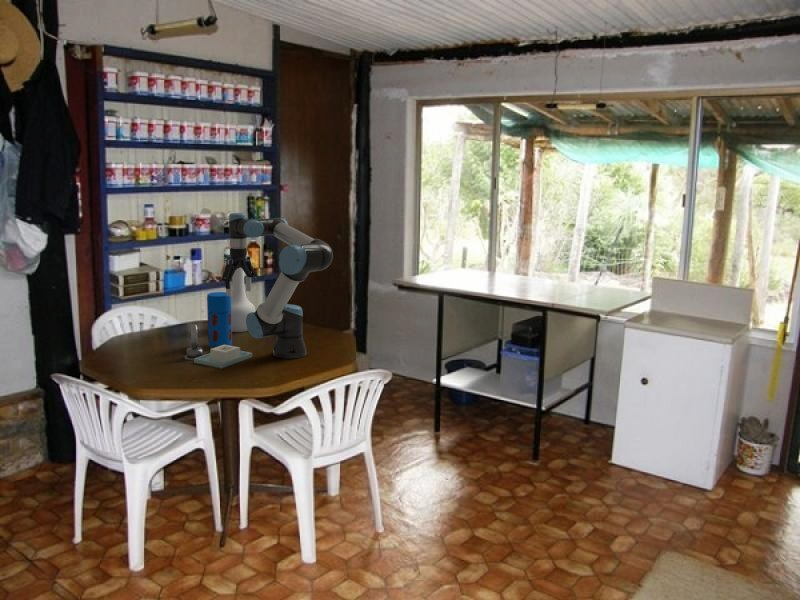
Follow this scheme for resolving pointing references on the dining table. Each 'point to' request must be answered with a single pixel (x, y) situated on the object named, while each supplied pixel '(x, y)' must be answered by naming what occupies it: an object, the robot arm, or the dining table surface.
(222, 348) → the ring
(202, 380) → the dining table surface
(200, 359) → the tray
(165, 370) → the dining table surface
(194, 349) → the stake
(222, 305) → the thermos
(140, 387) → the dining table surface
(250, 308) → the vase
